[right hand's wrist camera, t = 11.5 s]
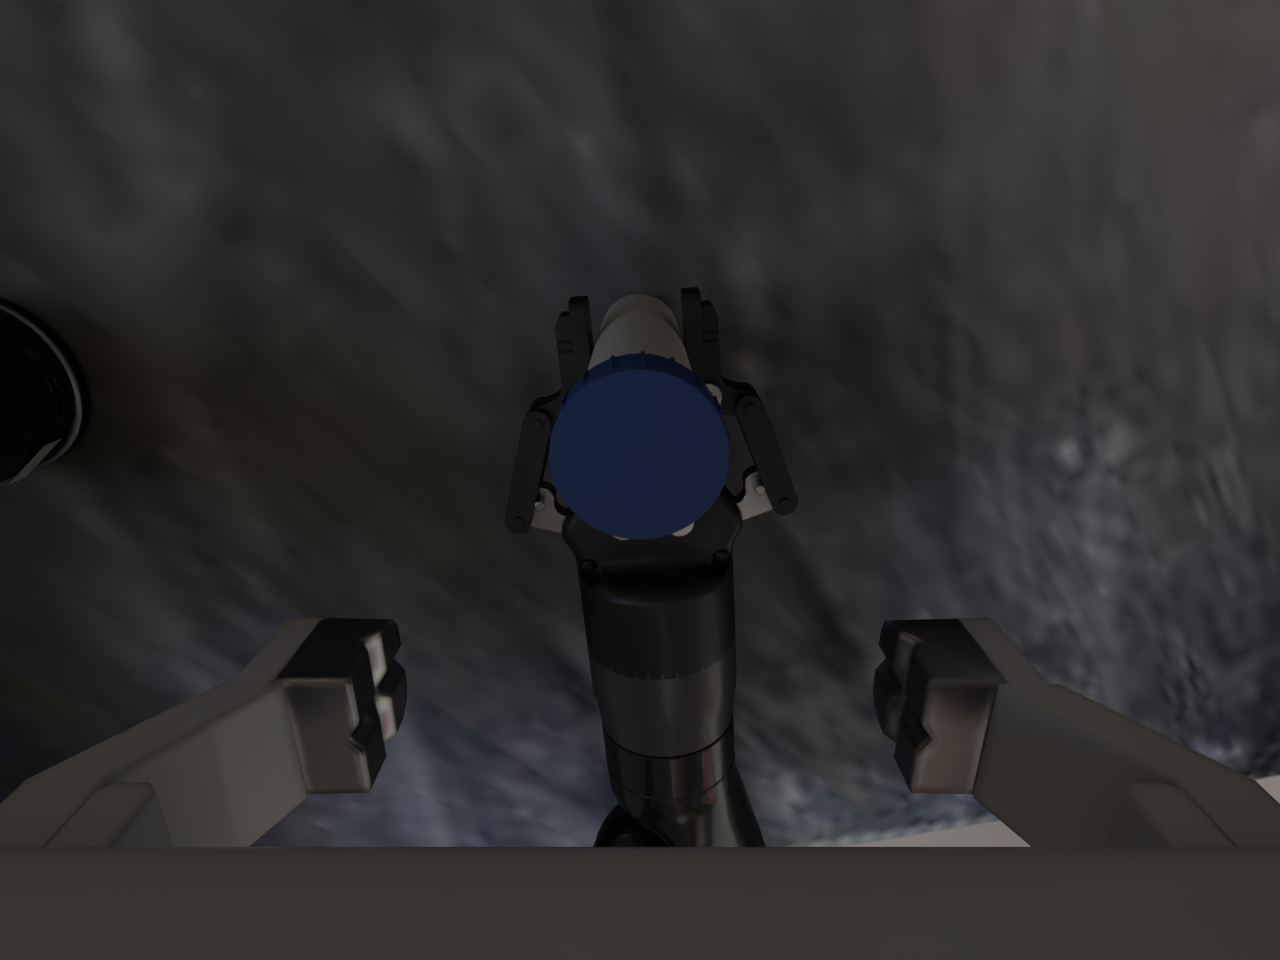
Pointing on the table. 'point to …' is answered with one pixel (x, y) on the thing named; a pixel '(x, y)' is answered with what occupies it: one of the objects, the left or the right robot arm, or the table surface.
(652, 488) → the lid
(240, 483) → the table surface
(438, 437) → the table surface
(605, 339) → the bottle
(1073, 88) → the table surface
